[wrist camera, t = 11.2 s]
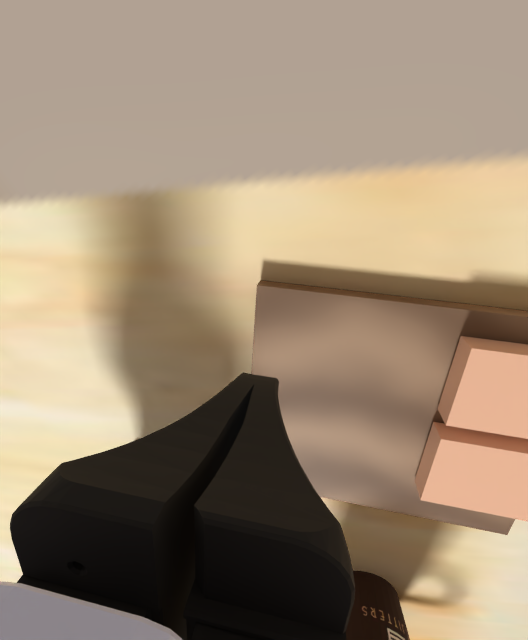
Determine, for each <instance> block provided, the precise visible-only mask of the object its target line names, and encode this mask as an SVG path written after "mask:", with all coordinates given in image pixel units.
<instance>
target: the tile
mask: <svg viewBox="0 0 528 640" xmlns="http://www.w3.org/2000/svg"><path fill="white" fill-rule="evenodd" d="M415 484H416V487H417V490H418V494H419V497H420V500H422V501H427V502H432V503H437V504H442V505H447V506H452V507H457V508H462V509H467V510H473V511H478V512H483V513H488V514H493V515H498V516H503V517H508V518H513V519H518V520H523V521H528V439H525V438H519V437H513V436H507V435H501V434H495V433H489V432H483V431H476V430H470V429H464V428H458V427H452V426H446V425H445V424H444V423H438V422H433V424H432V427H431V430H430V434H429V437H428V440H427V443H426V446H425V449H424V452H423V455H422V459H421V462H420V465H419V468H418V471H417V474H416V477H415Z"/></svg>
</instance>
